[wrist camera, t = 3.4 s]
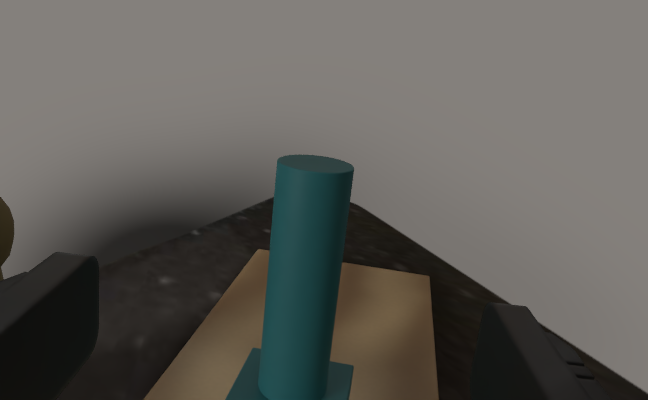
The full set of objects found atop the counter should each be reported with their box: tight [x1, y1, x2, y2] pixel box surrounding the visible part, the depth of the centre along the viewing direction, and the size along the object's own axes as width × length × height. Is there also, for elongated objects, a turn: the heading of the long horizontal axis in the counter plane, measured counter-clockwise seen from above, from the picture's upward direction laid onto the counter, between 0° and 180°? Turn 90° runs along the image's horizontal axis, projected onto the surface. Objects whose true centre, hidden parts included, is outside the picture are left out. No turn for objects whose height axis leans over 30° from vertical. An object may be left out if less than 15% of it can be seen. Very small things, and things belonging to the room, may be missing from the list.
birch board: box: [144, 249, 439, 400], centre depth 33 cm, size 14×26×1 cm, turn 171°
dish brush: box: [225, 155, 354, 400], centre depth 24 cm, size 5×5×12 cm
